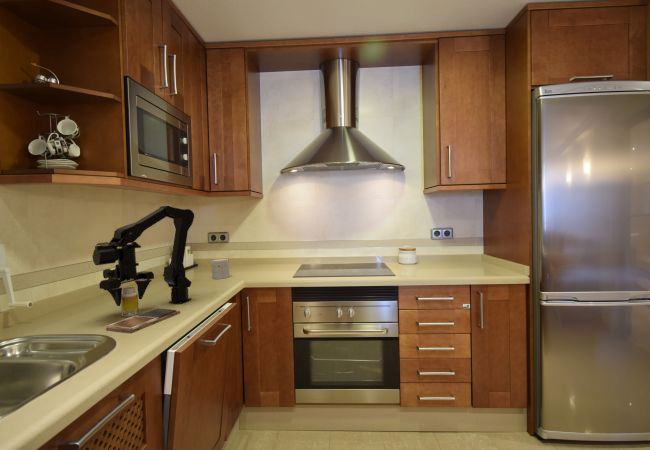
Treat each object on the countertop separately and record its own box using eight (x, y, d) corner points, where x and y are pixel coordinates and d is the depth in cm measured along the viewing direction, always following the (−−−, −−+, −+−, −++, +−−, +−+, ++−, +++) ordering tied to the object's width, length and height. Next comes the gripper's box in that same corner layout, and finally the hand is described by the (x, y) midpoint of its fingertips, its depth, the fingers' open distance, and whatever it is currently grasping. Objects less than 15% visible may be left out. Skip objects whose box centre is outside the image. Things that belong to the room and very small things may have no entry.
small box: (224, 276, 196) (224, 258, 196) (229, 277, 192) (228, 259, 192) (211, 278, 191) (210, 260, 190) (216, 279, 187) (215, 261, 186)
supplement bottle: (141, 314, 127) (139, 287, 126) (124, 318, 122) (122, 290, 122) (135, 311, 130) (134, 285, 130) (119, 315, 126) (117, 288, 126)
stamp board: (157, 311, 130) (157, 307, 130) (180, 313, 127) (180, 309, 126) (106, 330, 111) (105, 325, 110) (131, 333, 107) (130, 328, 107)
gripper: (132, 257, 137) (135, 295, 138) (86, 264, 119) (90, 308, 120) (153, 257, 133) (156, 296, 134) (109, 265, 116) (112, 310, 116)
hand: (129, 302), depth 126 cm, fingers open, 9 cm apart
